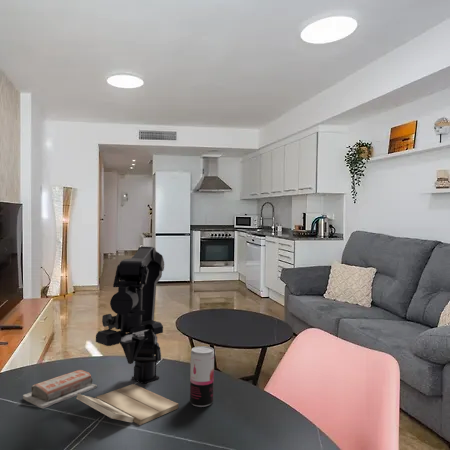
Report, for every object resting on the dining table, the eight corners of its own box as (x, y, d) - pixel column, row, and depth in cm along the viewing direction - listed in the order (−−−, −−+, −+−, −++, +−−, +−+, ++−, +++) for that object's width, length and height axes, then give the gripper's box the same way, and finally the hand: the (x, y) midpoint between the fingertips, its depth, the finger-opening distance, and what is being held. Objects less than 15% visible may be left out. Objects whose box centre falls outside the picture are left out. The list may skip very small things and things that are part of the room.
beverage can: (217, 403, 118) (218, 350, 118) (198, 409, 114) (199, 354, 114) (204, 395, 124) (205, 344, 123) (185, 401, 120) (186, 348, 119)
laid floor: (133, 387, 128) (133, 383, 128) (178, 408, 115) (178, 403, 115) (95, 401, 118) (95, 396, 118) (140, 425, 105) (140, 420, 105)
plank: (96, 403, 116) (98, 398, 117) (132, 422, 106) (134, 417, 106) (76, 398, 112) (78, 393, 112) (111, 418, 101) (113, 412, 101)
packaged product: (77, 366, 133) (97, 373, 128) (76, 381, 133) (97, 389, 128) (22, 383, 118) (43, 392, 113) (22, 400, 119) (42, 410, 113)
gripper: (139, 298, 127) (139, 349, 128) (84, 307, 113) (83, 365, 113) (164, 303, 120) (163, 358, 120) (108, 313, 106) (107, 375, 106)
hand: (130, 363), depth 115 cm, fingers closed
